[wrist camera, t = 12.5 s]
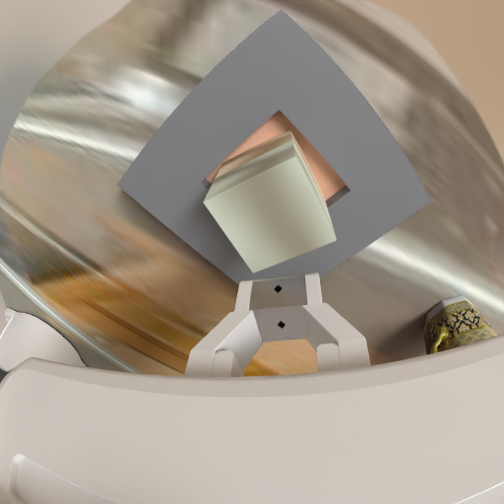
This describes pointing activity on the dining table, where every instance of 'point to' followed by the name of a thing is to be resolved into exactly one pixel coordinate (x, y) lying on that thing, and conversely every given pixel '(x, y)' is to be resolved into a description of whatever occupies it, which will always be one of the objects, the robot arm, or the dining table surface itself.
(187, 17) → the dining table surface
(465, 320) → the ceramic cup
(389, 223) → the pocket plate
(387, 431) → the robot arm
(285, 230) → the faceted block
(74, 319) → the dining table surface
